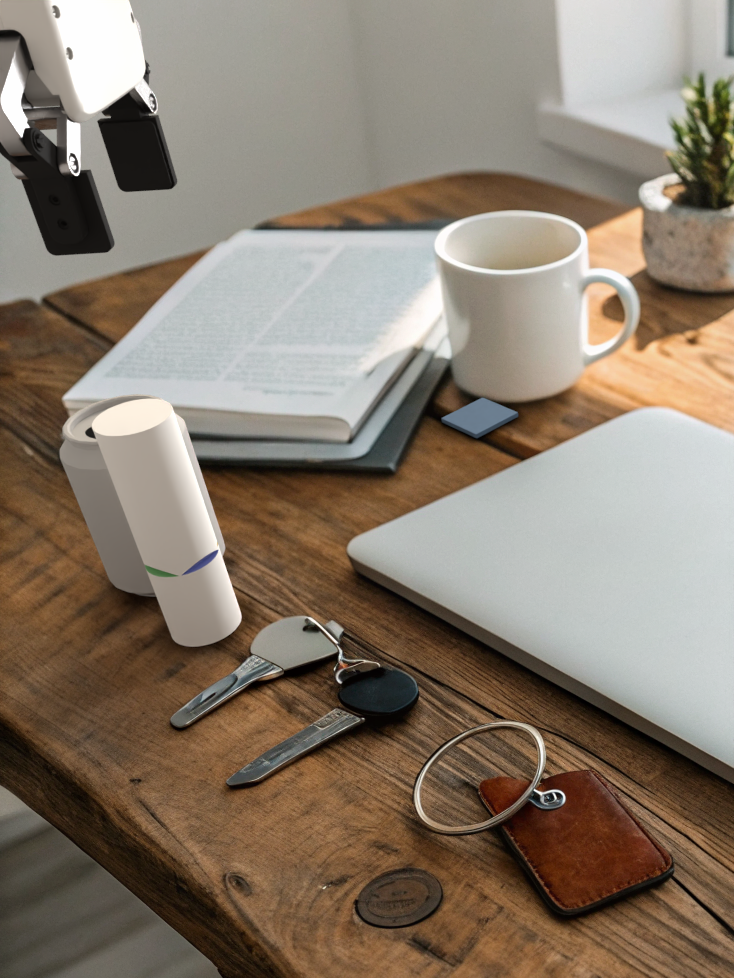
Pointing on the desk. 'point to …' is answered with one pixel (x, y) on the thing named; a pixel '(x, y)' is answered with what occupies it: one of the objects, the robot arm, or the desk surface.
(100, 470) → the can
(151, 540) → the tube
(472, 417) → the tile
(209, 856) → the desk surface
